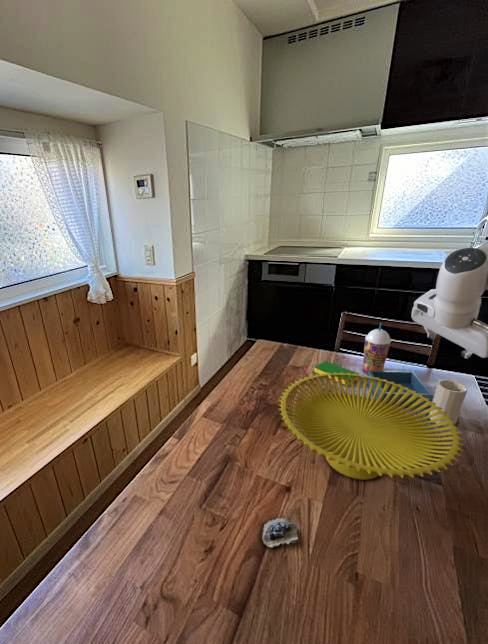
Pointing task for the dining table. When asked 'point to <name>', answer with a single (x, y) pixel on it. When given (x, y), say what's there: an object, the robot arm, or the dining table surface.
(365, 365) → the smoothie
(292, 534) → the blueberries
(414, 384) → the basin
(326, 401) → the yellow slatted bowl
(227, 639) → the dining table surface
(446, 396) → the cup
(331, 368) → the dish sponge
